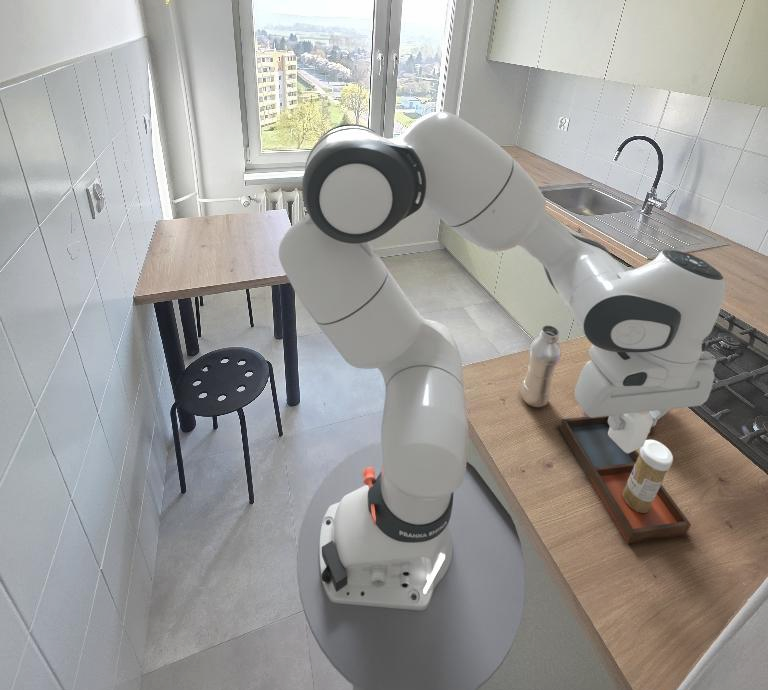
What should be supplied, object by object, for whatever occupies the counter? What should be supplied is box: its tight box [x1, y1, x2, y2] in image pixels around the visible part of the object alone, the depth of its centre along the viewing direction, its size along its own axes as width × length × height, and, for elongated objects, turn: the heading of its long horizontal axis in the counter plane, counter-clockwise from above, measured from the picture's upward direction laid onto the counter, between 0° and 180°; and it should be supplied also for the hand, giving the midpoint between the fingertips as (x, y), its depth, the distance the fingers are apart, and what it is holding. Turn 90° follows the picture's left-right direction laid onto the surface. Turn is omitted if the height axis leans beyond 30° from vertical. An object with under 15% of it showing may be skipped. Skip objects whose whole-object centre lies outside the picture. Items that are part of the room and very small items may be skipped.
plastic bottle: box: [520, 324, 562, 408], centre depth 93 cm, size 6×7×20 cm
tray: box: [559, 416, 692, 545], centre depth 80 cm, size 11×22×3 cm, turn 8°
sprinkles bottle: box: [622, 439, 674, 513], centre depth 73 cm, size 5×5×14 cm
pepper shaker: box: [608, 411, 653, 453], centre depth 65 cm, size 4×4×10 cm
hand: (630, 424), depth 65 cm, fingers closed on pepper shaker, 4 cm apart
